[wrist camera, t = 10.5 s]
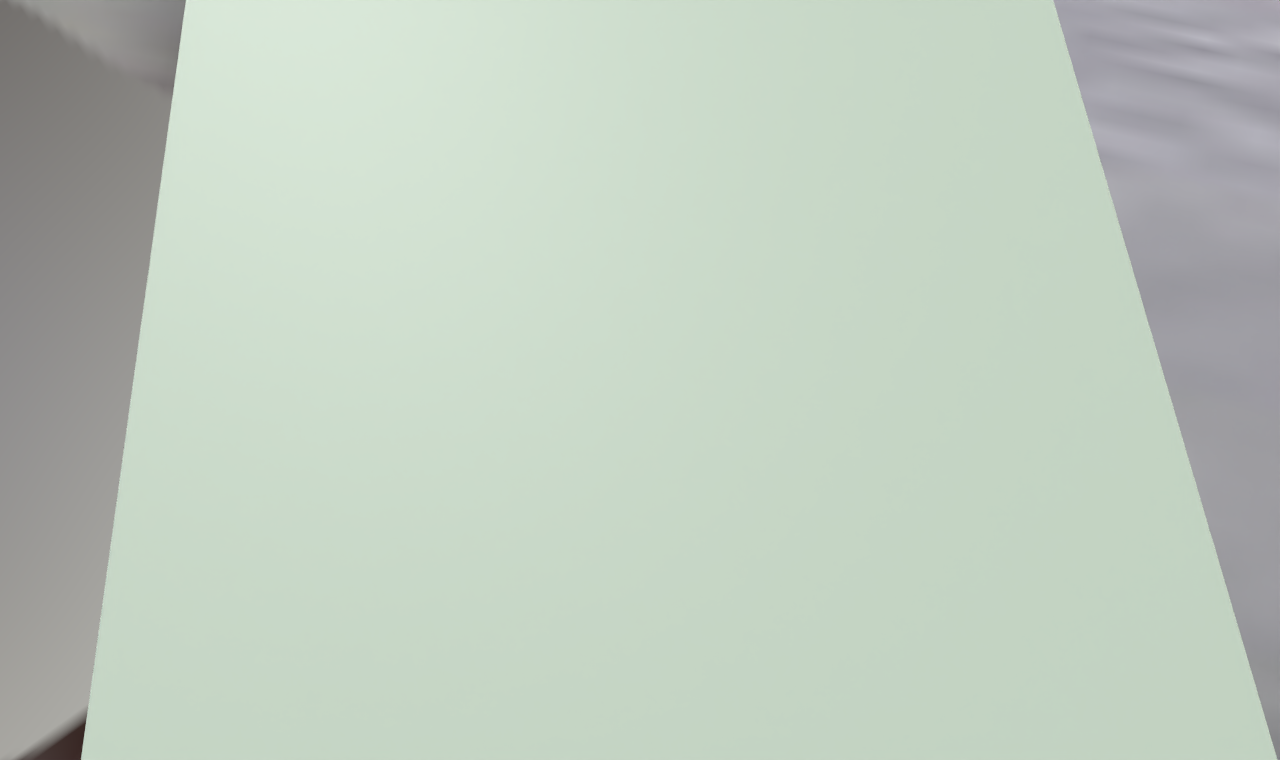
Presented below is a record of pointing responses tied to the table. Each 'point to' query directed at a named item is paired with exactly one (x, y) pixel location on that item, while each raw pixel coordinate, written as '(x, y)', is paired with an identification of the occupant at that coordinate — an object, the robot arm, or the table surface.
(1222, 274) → the table surface
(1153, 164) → the table surface
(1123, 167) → the table surface
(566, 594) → the pale green square block
